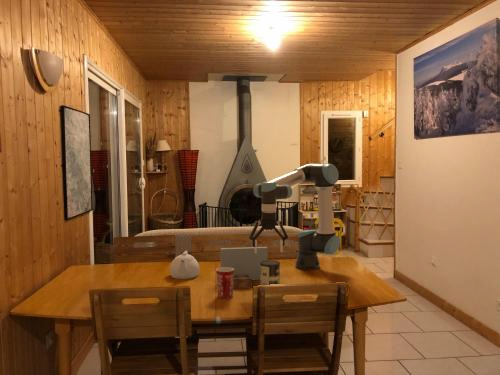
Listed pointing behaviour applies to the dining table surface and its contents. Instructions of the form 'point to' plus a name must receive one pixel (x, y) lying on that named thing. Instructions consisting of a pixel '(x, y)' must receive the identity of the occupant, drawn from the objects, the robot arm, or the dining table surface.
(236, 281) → the cleat ledge
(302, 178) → the robot arm
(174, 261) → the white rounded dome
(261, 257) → the backboard
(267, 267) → the coffee can
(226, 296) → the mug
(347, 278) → the dining table surface
